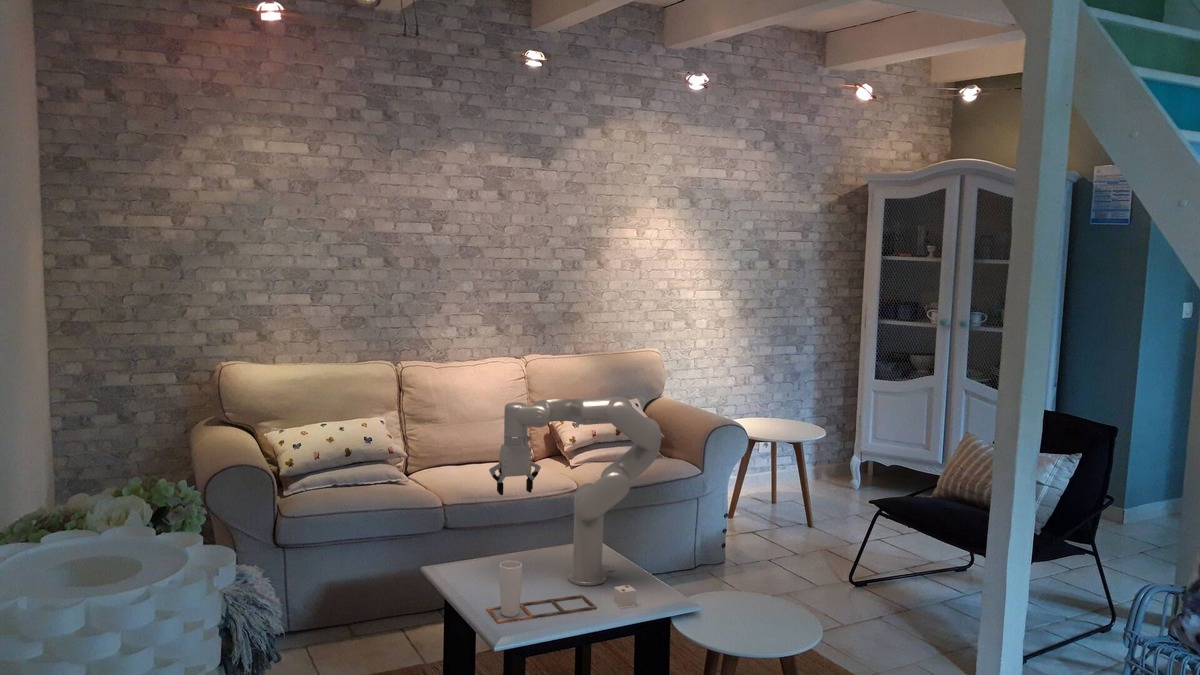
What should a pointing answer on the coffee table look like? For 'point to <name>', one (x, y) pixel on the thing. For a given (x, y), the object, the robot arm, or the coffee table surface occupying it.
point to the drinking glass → (510, 587)
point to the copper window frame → (530, 616)
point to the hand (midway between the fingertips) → (514, 492)
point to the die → (624, 596)
